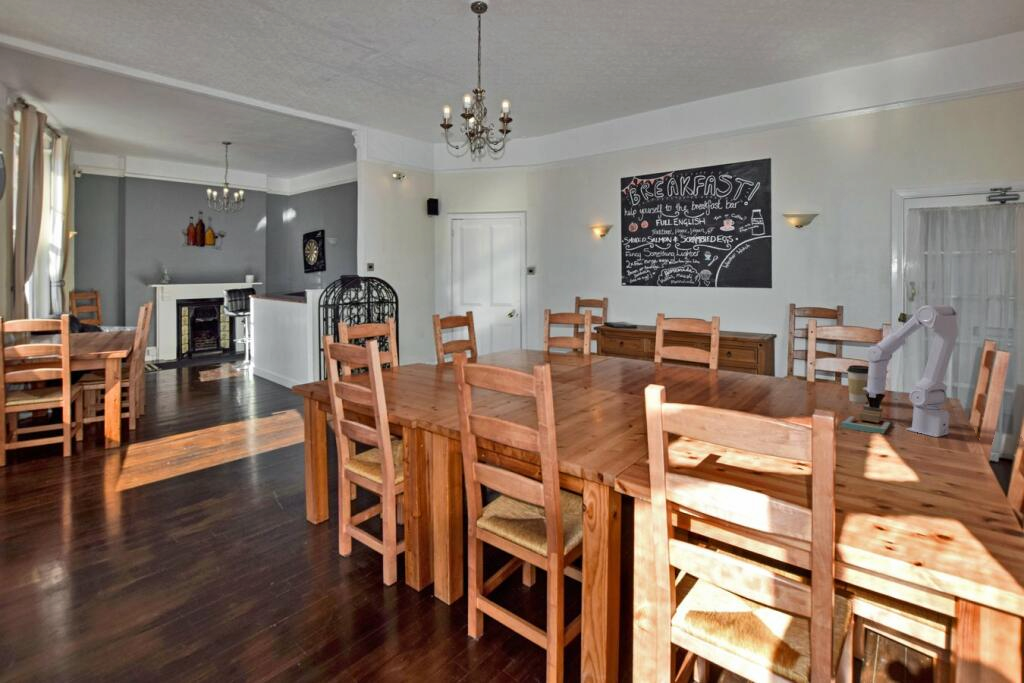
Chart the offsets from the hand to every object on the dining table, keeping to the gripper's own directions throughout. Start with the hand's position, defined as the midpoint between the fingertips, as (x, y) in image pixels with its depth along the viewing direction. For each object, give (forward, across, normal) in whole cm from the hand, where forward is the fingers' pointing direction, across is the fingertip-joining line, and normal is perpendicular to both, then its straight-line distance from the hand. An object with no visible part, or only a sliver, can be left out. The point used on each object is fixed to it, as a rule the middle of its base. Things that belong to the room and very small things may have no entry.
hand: (874, 412), depth 202 cm
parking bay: (+2, +17, 0) cm, 17 cm away
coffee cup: (+2, -25, -9) cm, 27 cm away
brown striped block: (+2, +7, 0) cm, 7 cm away
